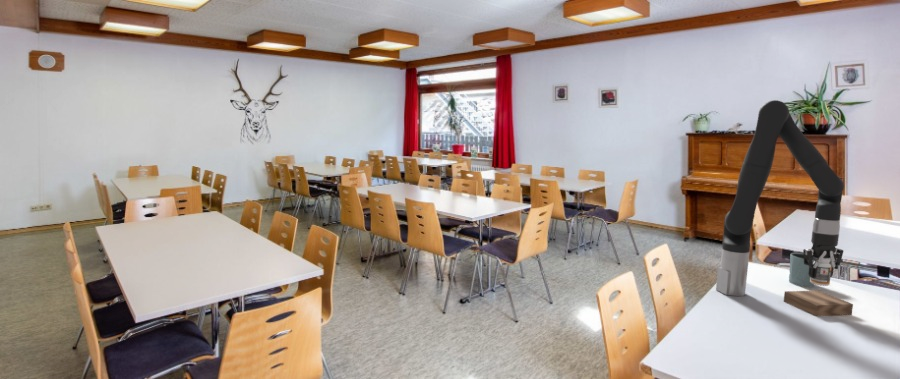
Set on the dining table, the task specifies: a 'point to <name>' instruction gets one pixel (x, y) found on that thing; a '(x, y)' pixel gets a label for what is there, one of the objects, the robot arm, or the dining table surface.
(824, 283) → the pill bottle
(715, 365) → the dining table surface
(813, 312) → the walnut base
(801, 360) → the dining table surface
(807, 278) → the green plant pot
